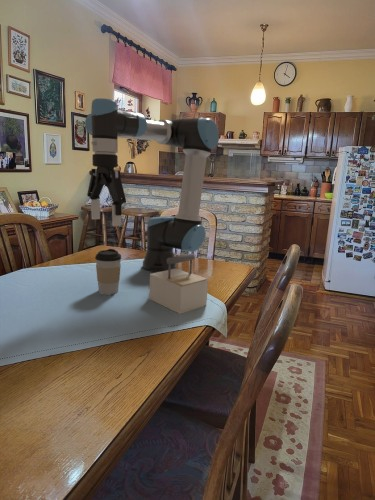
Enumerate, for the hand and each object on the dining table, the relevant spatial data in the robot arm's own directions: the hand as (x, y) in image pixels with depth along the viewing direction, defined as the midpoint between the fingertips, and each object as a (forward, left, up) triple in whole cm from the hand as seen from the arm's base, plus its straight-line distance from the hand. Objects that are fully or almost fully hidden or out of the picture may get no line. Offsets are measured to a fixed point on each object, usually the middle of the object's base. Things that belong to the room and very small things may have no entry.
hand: (105, 222), depth 114 cm
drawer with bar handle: (-19, +19, -18) cm, 32 cm away
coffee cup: (-5, -7, -27) cm, 28 cm away
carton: (-19, +15, -27) cm, 36 cm away
